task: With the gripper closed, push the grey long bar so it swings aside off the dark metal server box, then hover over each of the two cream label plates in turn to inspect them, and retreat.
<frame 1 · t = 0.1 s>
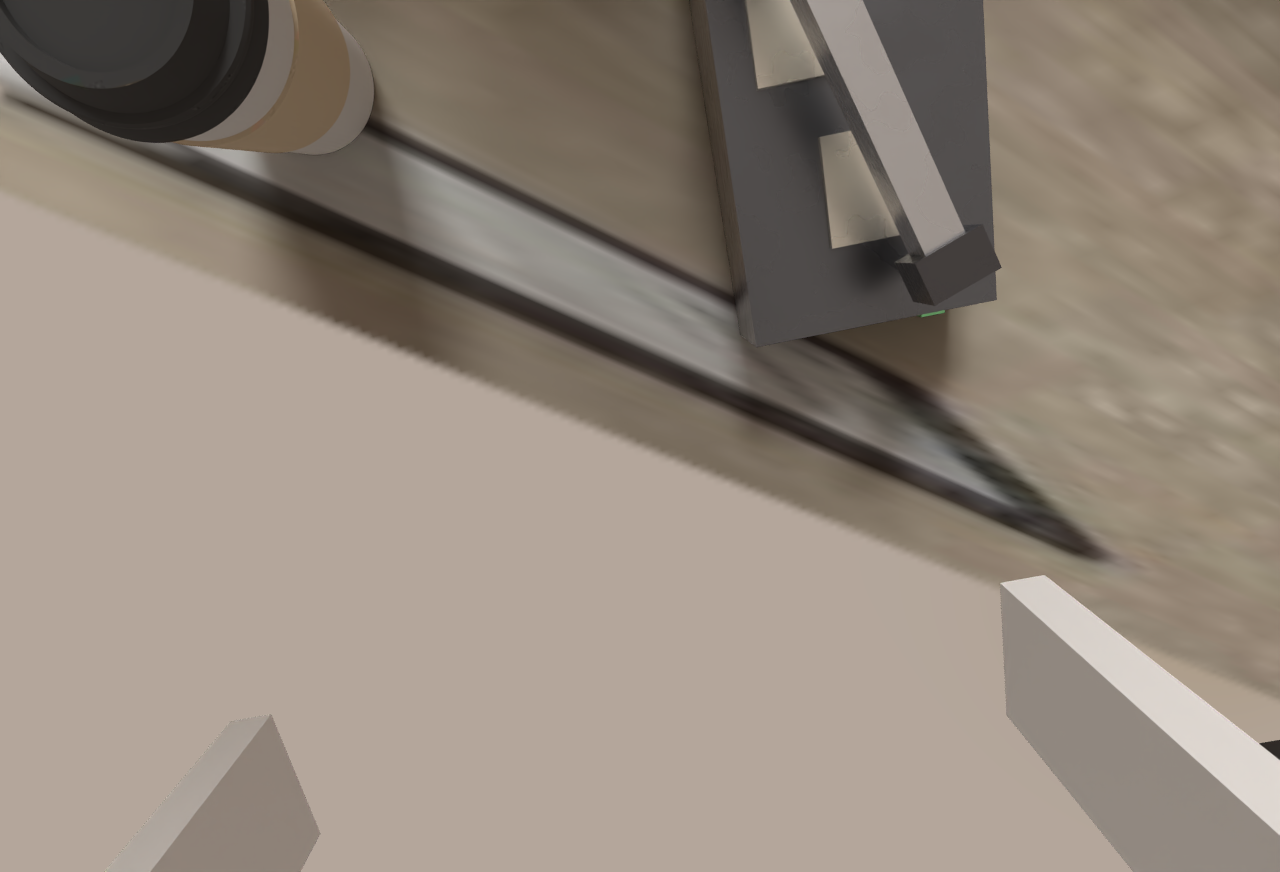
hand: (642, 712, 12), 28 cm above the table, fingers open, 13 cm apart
server box: (821, 105, 35), on the table
coffee cup: (308, 85, 34), on the table
grey long bar: (848, 50, 26), point 9 cm above the table, hinge at 0.0°
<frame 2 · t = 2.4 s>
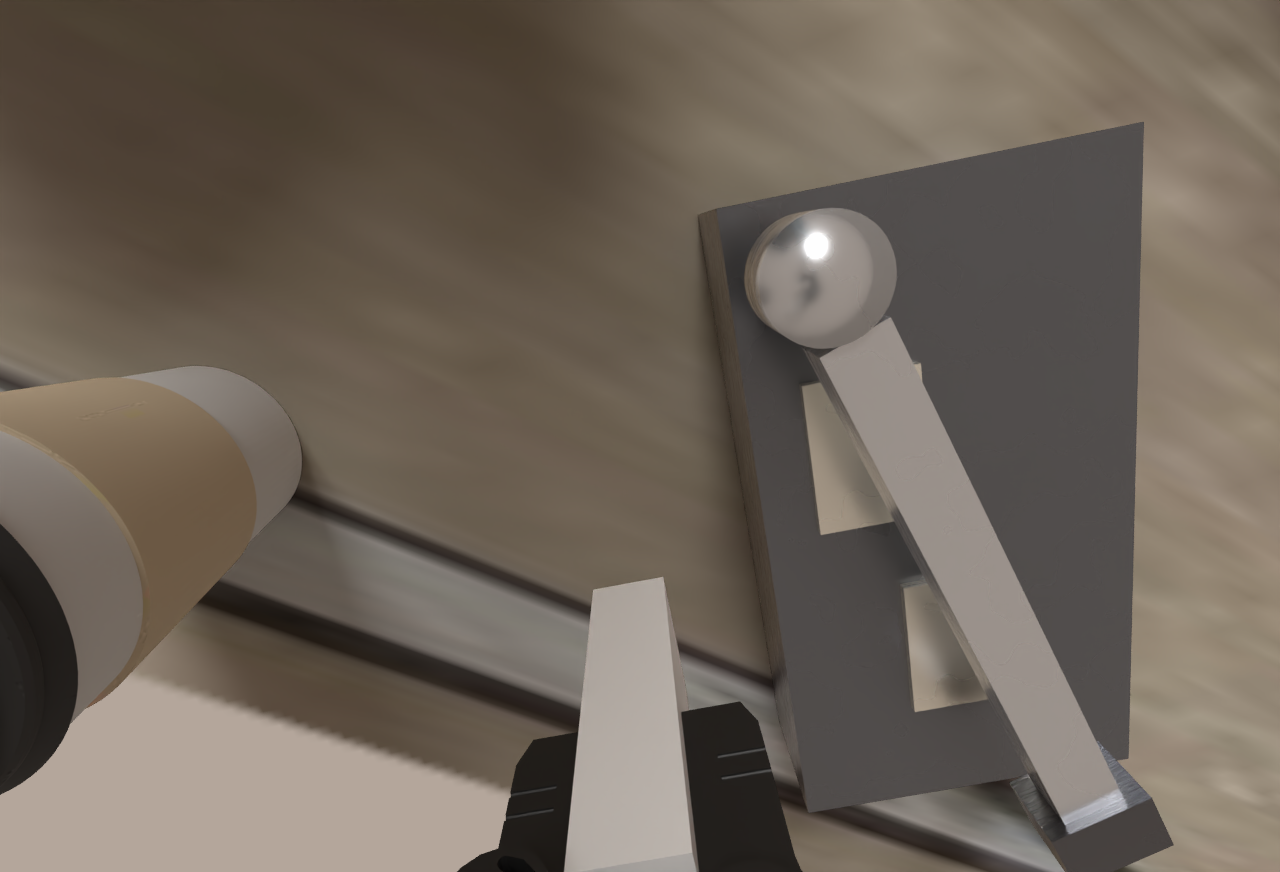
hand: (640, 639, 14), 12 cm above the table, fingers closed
server box: (891, 469, 26), on the table
coffee cup: (214, 450, 26), on the table
grey long bar: (966, 573, 18), point 9 cm above the table, hinge at 0.0°
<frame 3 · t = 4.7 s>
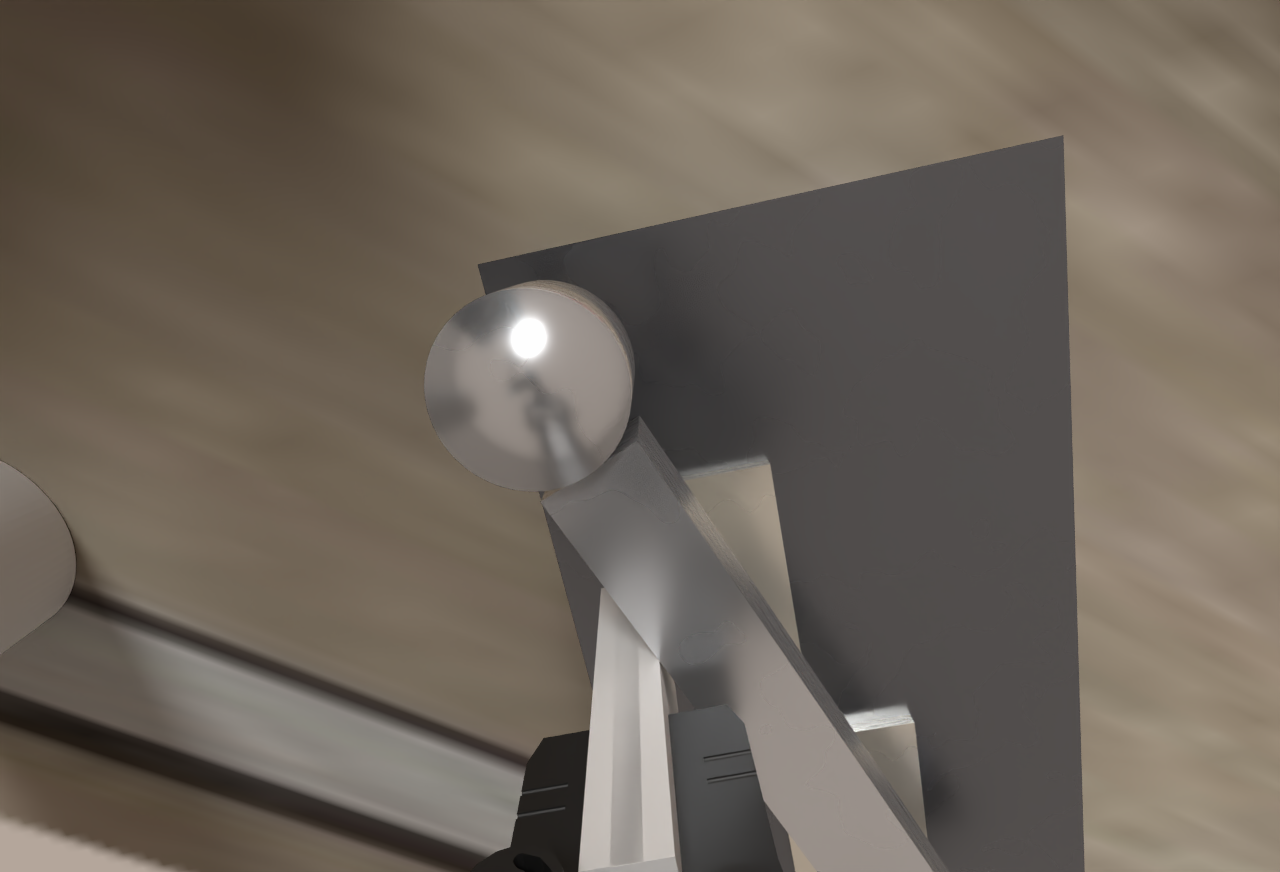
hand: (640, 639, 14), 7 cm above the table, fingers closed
server box: (789, 565, 21), on the table
grey long bar: (816, 770, 13), point 9 cm above the table, hinge at 1.6°, touching gripper
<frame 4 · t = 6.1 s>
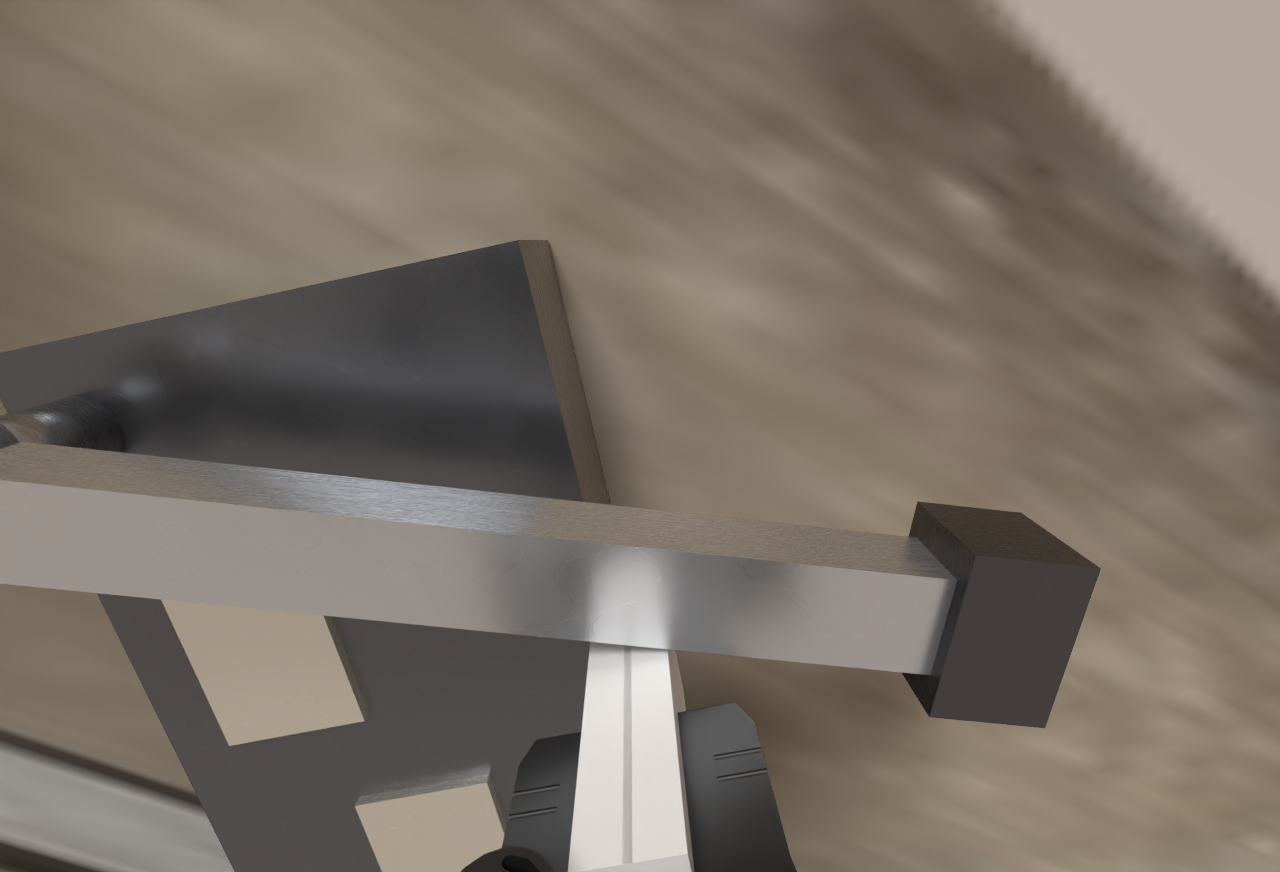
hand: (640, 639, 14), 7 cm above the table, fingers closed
server box: (452, 618, 22), on the table
grey long bar: (440, 553, 11), point 9 cm above the table, hinge at 51.5°, touching gripper
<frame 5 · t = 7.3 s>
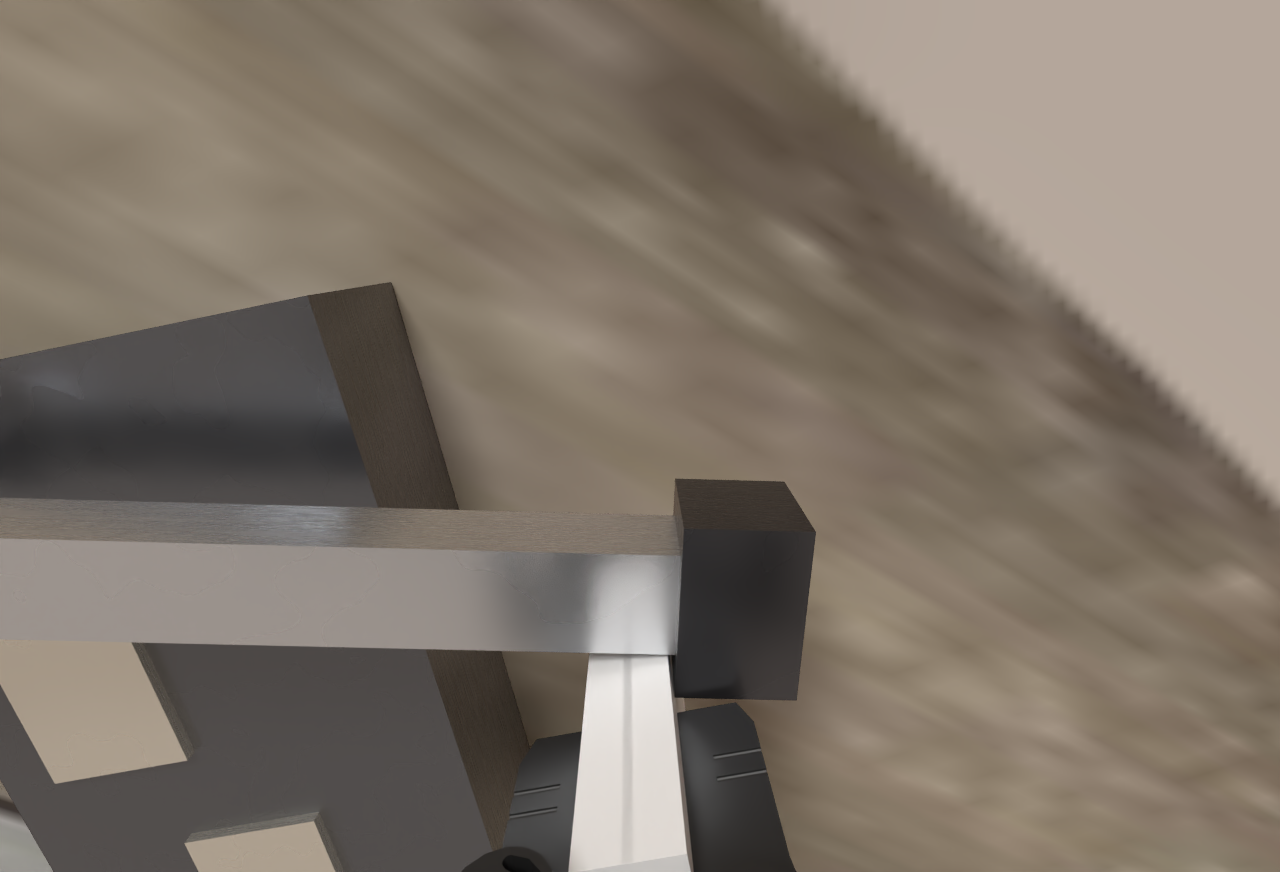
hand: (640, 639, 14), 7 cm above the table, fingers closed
server box: (316, 649, 22), on the table
grey long bar: (177, 569, 11), point 9 cm above the table, hinge at 56.9°, touching gripper
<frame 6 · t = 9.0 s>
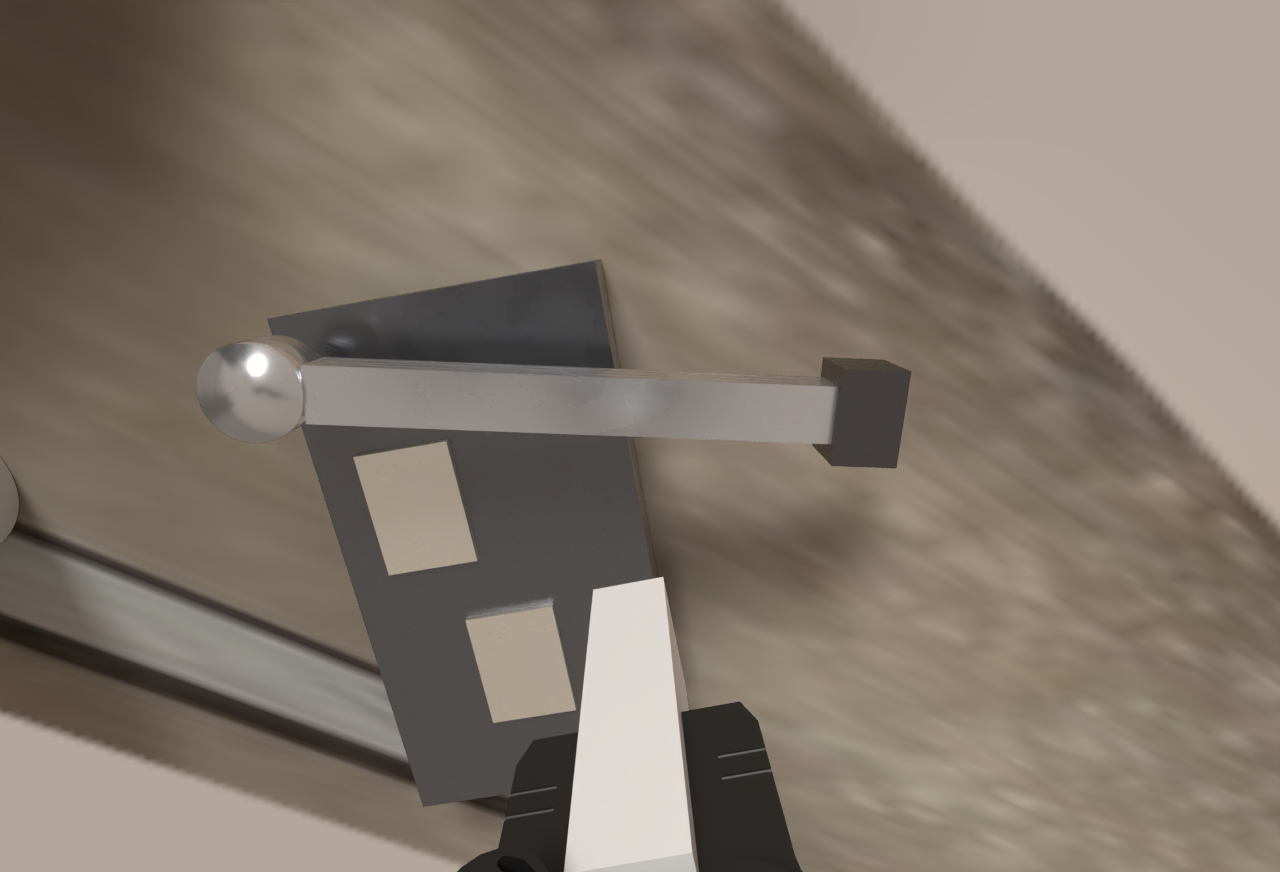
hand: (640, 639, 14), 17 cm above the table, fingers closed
server box: (519, 517, 31), on the table
grey long bar: (557, 399, 21), point 9 cm above the table, hinge at 57.8°
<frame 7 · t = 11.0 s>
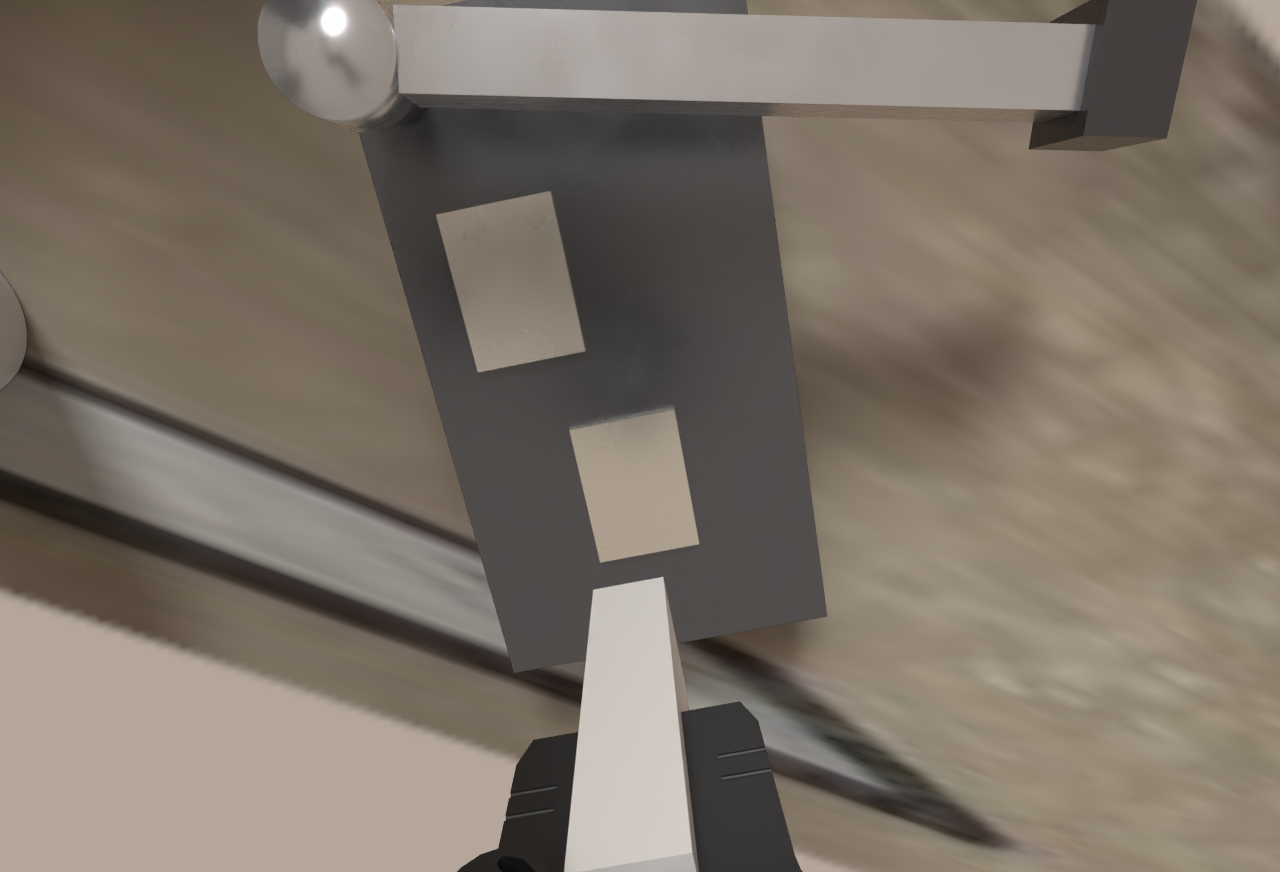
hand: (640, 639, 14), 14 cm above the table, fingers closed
server box: (613, 340, 27), on the table
grey long bar: (719, 67, 16), point 9 cm above the table, hinge at 57.8°
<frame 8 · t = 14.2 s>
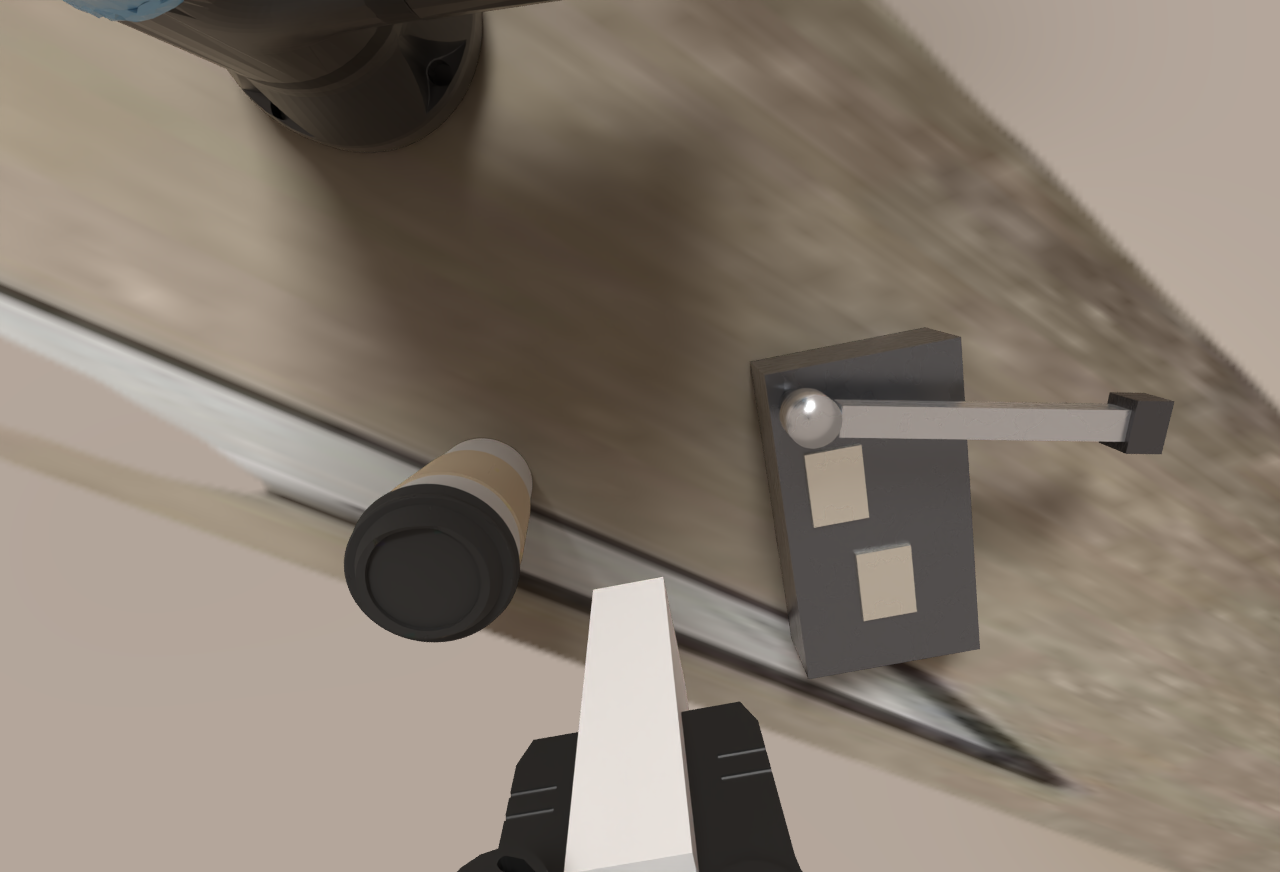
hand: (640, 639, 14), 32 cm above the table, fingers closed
server box: (853, 493, 48), on the table
coffee cup: (484, 482, 48), on the table
grey long bar: (969, 420, 37), point 9 cm above the table, hinge at 57.8°
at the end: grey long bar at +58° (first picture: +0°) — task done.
